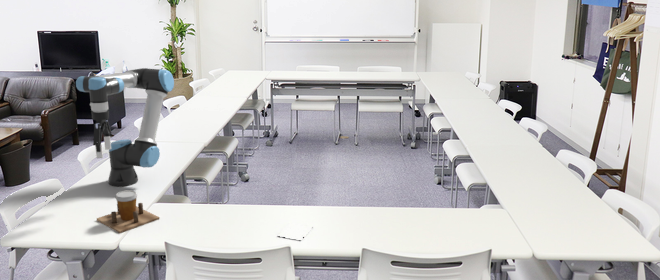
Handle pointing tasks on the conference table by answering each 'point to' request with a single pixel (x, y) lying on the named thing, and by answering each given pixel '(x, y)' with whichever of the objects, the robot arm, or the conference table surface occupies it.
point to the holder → (124, 225)
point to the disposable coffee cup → (126, 204)
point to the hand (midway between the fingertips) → (104, 153)
